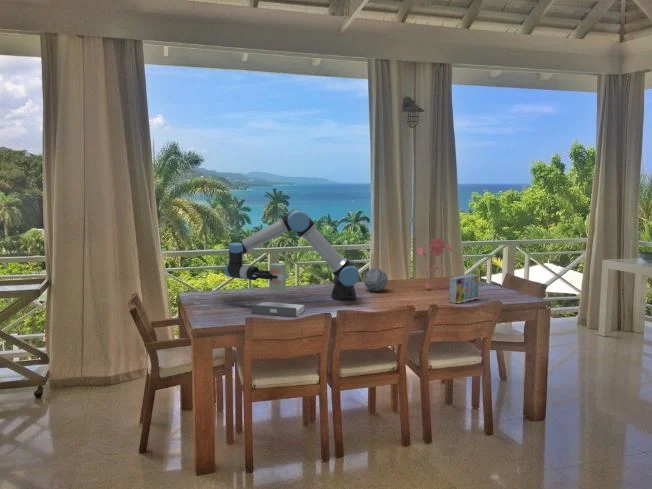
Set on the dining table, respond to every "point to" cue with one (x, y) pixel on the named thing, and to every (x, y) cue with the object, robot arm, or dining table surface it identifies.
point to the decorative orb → (375, 279)
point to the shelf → (277, 309)
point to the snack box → (463, 287)
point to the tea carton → (277, 284)
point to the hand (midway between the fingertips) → (286, 277)
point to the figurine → (437, 249)
